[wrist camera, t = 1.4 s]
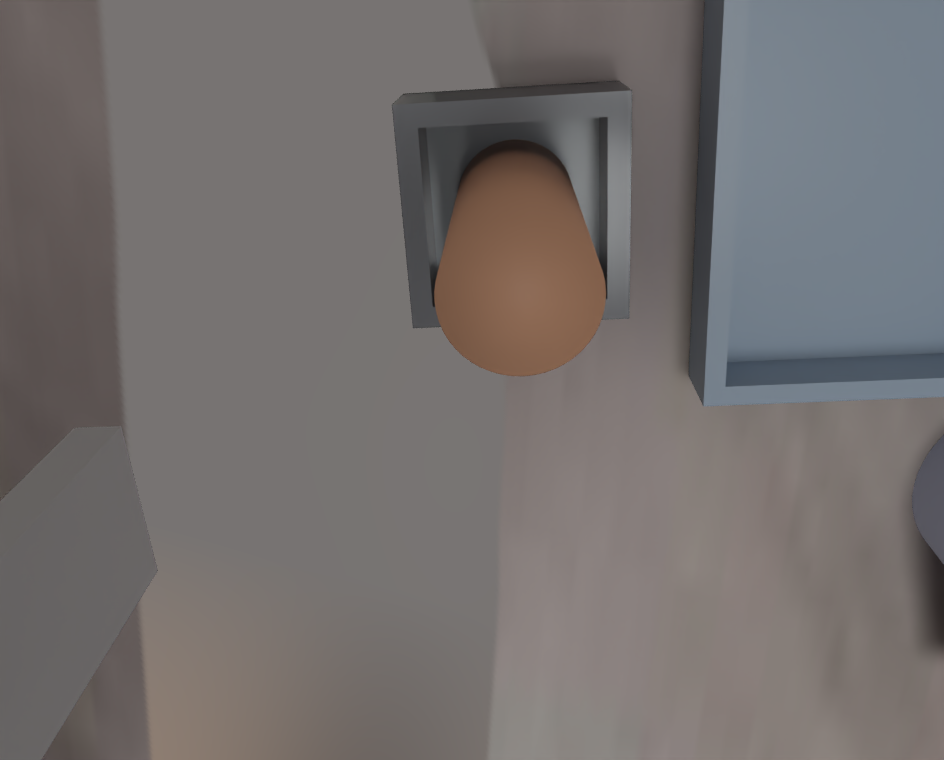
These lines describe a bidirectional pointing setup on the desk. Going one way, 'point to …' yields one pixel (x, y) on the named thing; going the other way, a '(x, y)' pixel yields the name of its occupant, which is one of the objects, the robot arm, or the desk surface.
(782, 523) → the desk surface
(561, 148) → the grey square open box
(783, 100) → the tray
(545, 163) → the dowel
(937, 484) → the wedge on round base
